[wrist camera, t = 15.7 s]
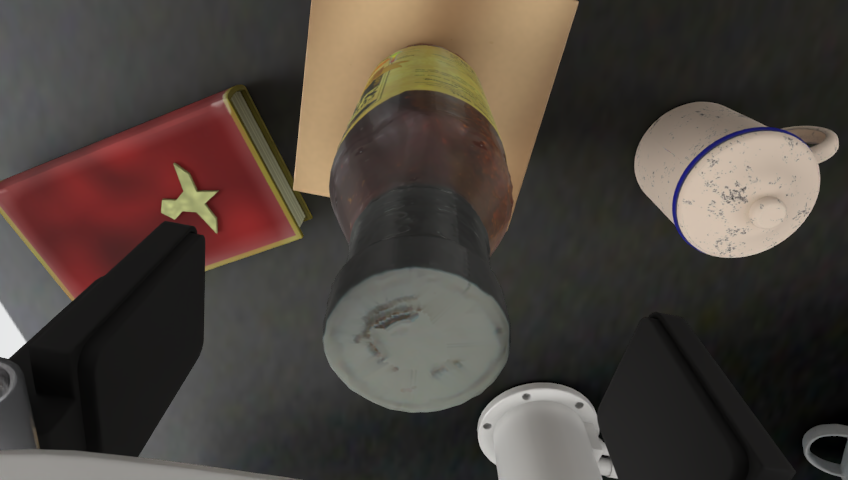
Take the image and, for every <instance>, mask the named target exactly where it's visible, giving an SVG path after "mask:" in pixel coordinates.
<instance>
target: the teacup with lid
mask: <svg viewBox="0 0 848 480" xmlns="http://www.w3.org/2000/svg"><path fill="white" fill-rule="evenodd" d="M806 143H812V144H817V145H815V146H813V147H811V148H809V146H808V145H807V144H806ZM838 147H839V141H838V136H837V135H836V133H834V132H833V131H831V130H829V129H826V128H822V127H816V126H793V127H786V128H782V129H778V128H773V127H768V126H765V125H763V124H761V123H759V122H757V121H755V120H753V119H751V118H748V117H746V116H744V115H742V114H740V113H738V112H736V111H733V110H731V109H729V108H727V107H725V106H723V105H720V104H717V103H712V102H693V103H688V104H685V105H682V106H679V107H677V108H674V109H672V110H670V111H669V112H667V113H665V114H664V115H662V116H661V117H660V118H659V119H657V120H656V121H655V122H654V123H653V124H652V125H651V126H650V127H649V129H648V130H647V131H646V133H645V134H644V136H643V137H642V139H641V141H640V143H639V145H638V148H637V151H636V155H635V162H634V169H635V175H636V179H637V182H638V184H639V186H640V188H641V189H642V191H643V192H644V193H645V194H646V195H647V196H648V197H649V198H650V199H651V200H652V201H653V202H654V204H655V205H656V206H657V207H658V208H659V209H660V210H661V211H662V212H663V213H664V214H665V215H666V216H667V217H668V218H669V219H670V220H671V221H672V222H673V223H674V224H675V227H676V229H677V231H678V232H679V234H680V235H681V237H682V238H683V239H684V240H685V241H686V242H687V243H688V244H689V245H690V246H692V247H693V248H695V249H696V250H698V251H701V252H703V253H706V254H709V255H712V256H717V257H724V258H736V257H745V256H750V255H754V254H757V253H760V252H763V251H765V250H768V249H770V248H772V247H774V246H775V245H777V244H779V243H780V242H782V241H783V240H785V239H786V238H788V237H789V236H790V235H791V234H792V233H793V232H795V231H796V230H797V229H798V228H799V227H800V226H801V224H802V223H803V222H804V221H805V219H806V218H807V217H808V215H809V214H810V212H811V210H812V208H813V206H814V204H815V202H816V199H817V196H818V193H819V187H820V171H819V166H818V164H819V163H821V162H823V161H825V160H827V159H829V158H830V157H832V156H833V155H834V154H835V153H836V151H837V150H838Z"/></svg>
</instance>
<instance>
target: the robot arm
mask: <svg viewBox="0 0 848 480" xmlns="http://www.w3.org/2000/svg"><path fill="white" fill-rule="evenodd" d="M204 292H205V237H204V235H200V234H197V230H196V228H195V226H190V225H185V224H180V223H174V222H169V221H164V222H162V223H161V224H160V225H159V226H158V227H157V228H156V229H155V230H154V231H152V232H151V233H150V234H149V235H148V236H147V237H146V238H145V239H144V240H143V241H142V242H140V243H139V244H138V245H137V246H136V247H135V248H134V249H133V250H132V251H131V252H130V253H129V254H127V255H126V256H125V257H124V258H123V259H122V260H121V261H120V262H119V263H118V264H117V265H115V266H114V267H113V268H112V269H111V270H110V271H109V272H108V273H107V274H106V275H105V276H101V277H100V278H98V279H97V280H95V281H94V282H93V283H92V284H91V285H90V286H89V287H87V288H86V289H85V290H84V291H83V292H82V293H81V294H80V295H79V296H78V297H76V298H75V299H74V300H73V301H72V302H71V303H70V304H69V305H68V306H67V307H65V308H64V309H63V310H62V311H61V312H60V313H59V314H58V315H57V316H56V317H54V318H53V319H52V320H51V321H50V322H49V323H48V324H47V325H46V326H45V327H43V328H42V329H41V330H40V331H39V332H38V333H37V334H36V335H35V336H33V337H32V338H31V339H30V340H29V341H28V342H27V343H26V344H25V345H24V346H22V347H21V348H20V349H19V350H18V351H17V352H16V353H15V354H14V355H13V356H12V357H10V358H9V359H5V358H1V357H0V480H300V479H293V478H287V477H280V476H273V475H266V474H259V473H252V472H245V471H238V470H231V469H224V468H217V467H210V466H203V465H195V464H188V463H181V462H173V461H166V460H159V459H150V458H141V457H138V456H139V454H140V453H141V451H142V449H143V448H144V446H145V444H146V443H147V441H148V440H149V438H150V436H151V435H152V433H153V431H154V430H155V428H156V426H157V425H158V423H159V422H160V420H161V418H162V417H163V415H164V413H165V412H166V410H167V408H168V407H169V405H170V403H171V402H172V400H173V399H174V397H175V395H176V394H177V392H178V390H179V389H180V387H181V385H182V384H183V382H184V381H185V379H186V377H187V376H188V374H189V372H190V371H191V369H192V367H193V366H194V364H195V362H196V361H197V359H198V357H199V355H200V353H201V350H202V346H203V340H204ZM599 428H600V431H601V434H602V437H603V439H604V442H603V441H602V440H601V439H600V438H598V435H599ZM477 431H478V440H479V444H480V447H481V449H482V451H483V453H484V454H485V455H486V457H487V458H488V459H489V460H490V461H491V462H493V463H494V464H495V465H497V471H498V479H499V480H602V477H601V475H604V476H606V477H610V478H617V479H618V480H791V478H792V477H793V476H794V475H795V473H796V471H795V470H794V468H793V467H792V466H791V464H790V463H789V462H788V460H787V459H786V458H785V456H784V455H783V453H782V452H781V451H780V449H779V448H778V447H777V445H776V444H775V442H774V441H773V440H772V438H771V437H770V436H769V434H768V433H767V432H766V430H765V429H764V427H763V426H762V425H761V423H760V422H759V421H758V419H757V418H756V416H755V415H754V414H753V412H752V411H751V410H750V408H749V407H748V406H747V404H746V403H745V401H744V400H743V399H742V397H741V396H740V395H739V393H738V392H737V391H736V389H735V388H734V386H733V385H732V384H731V382H730V381H729V380H728V378H727V377H726V375H725V374H724V373H723V371H722V370H721V369H720V367H719V366H718V365H717V363H716V362H715V360H714V359H713V358H712V356H711V355H710V354H709V352H708V351H707V349H706V348H705V347H704V345H703V344H702V343H701V341H700V340H699V339H698V337H697V336H696V334H695V333H694V332H693V330H692V329H691V328H690V326H689V325H688V323H687V322H686V321H685V320H684V319H683V318H682V317H679V316H674V315H668V314H663V313H658V312H654V313H652V314H651V315H649V317H644V318H642V319H641V320H640V322H639V324H638V326H637V328H636V330H635V332H634V334H633V336H632V339H631V341H630V343H629V345H628V347H627V349H626V351H625V353H624V355H623V357H622V359H621V361H620V364H619V366H618V368H617V370H616V372H615V374H614V376H613V378H612V380H611V382H610V384H609V386H608V389H607V391H606V393H605V395H604V397H603V399H602V401H601V403H600V405H599V408H598V412H597V414H596V412H595V409H594V407H593V405H592V404H591V403H590V401H589V400H588V399H587V398H586V397H585V396H584V395H582V394H581V393H580V392H578V391H576V390H574V389H573V388H570V387H567V386H564V385H561V384H555V383H540V382H538V383H530V384H524V385H521V386H517V387H514V388H512V389H509V390H507V391H505V392H503V393H501V394H500V395H498V396H497V397H495V398H494V399H493V400H492V401H491V402H490V403H489V404H488V405H487V406H486V407H485V409H484V410H483V412H482V413H481V416H480V418H479V421H478V427H477ZM602 455H608V456H610V458H609V457H607V458H602V457H601V456H602Z"/></svg>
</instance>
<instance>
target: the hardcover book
mask: <svg viewBox="0 0 848 480" xmlns="http://www.w3.org/2000/svg"><path fill="white" fill-rule="evenodd" d="M293 183H294V180H293V178H292V176H291V174H290V172H289V170H288V168H287V166H286V164H285V162H284V160H283V158H282V156H281V155H280V153H279V151H278V149H277V147H276V145H275V143H274V141H273V139H272V137H271V135H270V133H269V131H268V129H267V127H266V125H265V124H264V122H263V120H262V118H261V116H260V114H259V112H258V110H257V108H256V106H255V104H254V102H253V100H252V98H251V96H250V94H249V93H248V91H247V89H246V87H245V86H244V85H236V86H234V87H231V88H229V89H226V90H224V91H221V92H219V93H217V94H214V95H212V96H209V97H207V98H204V99H202V100H199V101H197V102H194V103H192V104H189V105H187V106H184V107H182V108H180V109H177V110H175V111H172V112H170V113H167V114H165V115H162V116H160V117H157V118H155V119H152V120H150V121H147V122H145V123H143V124H140V125H138V126H135V127H133V128H130V129H128V130H125V131H123V132H120V133H118V134H115V135H113V136H110V137H108V138H105V139H103V140H101V141H98V142H96V143H93V144H91V145H88V146H86V147H83V148H81V149H78V150H76V151H73V152H71V153H68V154H66V155H64V156H61V157H59V158H56V159H54V160H51V161H49V162H46V163H44V164H41V165H39V166H36V167H34V168H31V169H29V170H27V171H24V172H22V173H19V174H17V175H14V176H12V177H9V178H7V179H4V180H2V181H0V213H1V214H2V216H3V217H4V218H5V219H6V221H7V222H8V223H9V224H10V225H11V227H12V228H13V229H14V230H15V232H16V233H17V234H18V235H19V237H20V238H21V239H22V240H23V241H24V243H25V244H26V245H27V246H28V248H29V249H30V250H31V251H32V253H33V254H34V255H35V256H36V257H37V259H38V260H39V261H40V262H41V264H42V265H43V266H44V267H45V269H46V270H47V271H48V272H49V273H50V275H51V276H52V277H53V278H54V280H55V281H56V282H57V283H58V284H59V286H60V287H61V288H62V289H63V291H64V292H65V293H66V294H67V296H68V297H69V298H70V299H71V300H72V301H73V300H74V299H75V298H76V297H78V296H79V295H80V294H81V293H82V292H83V291H84V290H85V289H86V288H87V287H89V286H90V285H91V284H92V283H93V282H94V281H95V280H97V279H98V278H100V277H101V276H105V275H106V274H107V273H108V272H109V271H110V270H111V269H112V268H113V267H114V266H115V265H117V264H118V263H119V262H120V261H121V260H122V259H123V258H124V257H125V256H126V255H127V254H129V253H130V252H131V251H132V250H133V249H134V248H135V247H136V246H137V245H138V244H139V243H140V242H142V241H143V240H144V239H145V238H146V237H147V236H148V235H149V234H150V233H151V232H152V231H154V230H155V229H156V228H157V227H158V226H159V225H160V224H161V223H162V222H164V221H169V222H174V223H180V224H185V225H190V226H195V228H196V230H197V234H200V235H204V237H205V271H207V270H210V269H213V268H216V267H219V266H222V265H225V264H228V263H230V262H233V261H236V260H239V259H242V258H245V257H248V256H251V255H254V254H257V253H260V252H263V251H266V250H269V249H272V248H274V247H277V246H280V245H283V244H286V243H289V242H292V241H295V240H298V239H301V238H303V236H304V235H303V233H302V231H301V230H300V226H301V224H302V222H304V221H307V220H309V219H312V217H313V216H312V215H311V213H310V211H309V209H308V207H307V205H306V203H305V201H304V199H303V197H302V195H301V193H300V191H294V190H293Z"/></svg>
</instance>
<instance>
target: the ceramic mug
mask: <svg viewBox="0 0 848 480" xmlns="http://www.w3.org/2000/svg"><path fill="white" fill-rule="evenodd" d="M824 436H842V437H847V443H846V446H845V449H844V453H843V458H842V462H841V464H835V463H832V462H829V461H826V460H823V459H821V458H819V457H817V456H815V455H814V454H813V453H812V452H810V445H811V444H812V443H813V442H814V441H815V440H816V439H818V438H820V437H824ZM802 443H803V449H804V455H805V457H806V458H807V460H808V461H809V462H810V463H811V464H813V465H814V466H815V467H817V468H818V469H820V470H822V471H824V472H827V473H829V474H832V475H835V476H839V477H841V478H842V480H848V426H845V425H840V424H825V425H824V424H822V425H818V426H815V427H813V428H811V429H810V430H808V431H807V432H806V433H805V435H804V437H803V441H802Z"/></svg>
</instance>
